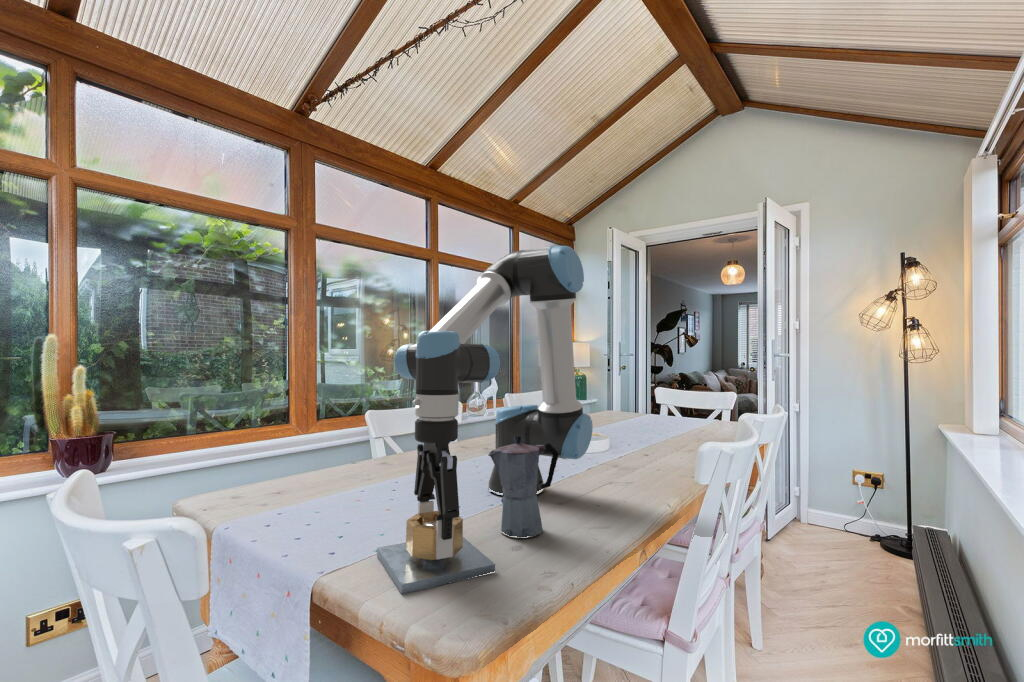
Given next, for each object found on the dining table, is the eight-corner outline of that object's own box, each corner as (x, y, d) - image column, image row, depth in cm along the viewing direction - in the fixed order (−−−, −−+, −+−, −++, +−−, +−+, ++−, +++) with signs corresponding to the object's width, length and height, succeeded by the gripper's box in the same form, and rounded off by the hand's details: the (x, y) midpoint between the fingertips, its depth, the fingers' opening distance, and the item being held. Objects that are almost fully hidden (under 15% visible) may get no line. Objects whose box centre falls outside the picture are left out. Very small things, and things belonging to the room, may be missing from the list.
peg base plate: (458, 541, 96) (459, 505, 96) (495, 573, 82) (495, 531, 82) (377, 555, 88) (377, 517, 88) (401, 594, 74) (402, 547, 74)
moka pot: (480, 527, 103) (482, 433, 104) (546, 520, 109) (547, 430, 109) (495, 544, 94) (496, 440, 95) (566, 534, 100) (567, 437, 101)
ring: (449, 535, 91) (449, 508, 91) (468, 553, 83) (468, 523, 83) (401, 544, 87) (402, 515, 87) (417, 563, 79) (417, 532, 79)
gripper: (398, 412, 93) (396, 530, 93) (437, 427, 74) (435, 576, 74) (435, 410, 97) (433, 524, 96) (481, 424, 78) (479, 566, 77)
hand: (434, 547), depth 85 cm, fingers closed on ring, 9 cm apart
